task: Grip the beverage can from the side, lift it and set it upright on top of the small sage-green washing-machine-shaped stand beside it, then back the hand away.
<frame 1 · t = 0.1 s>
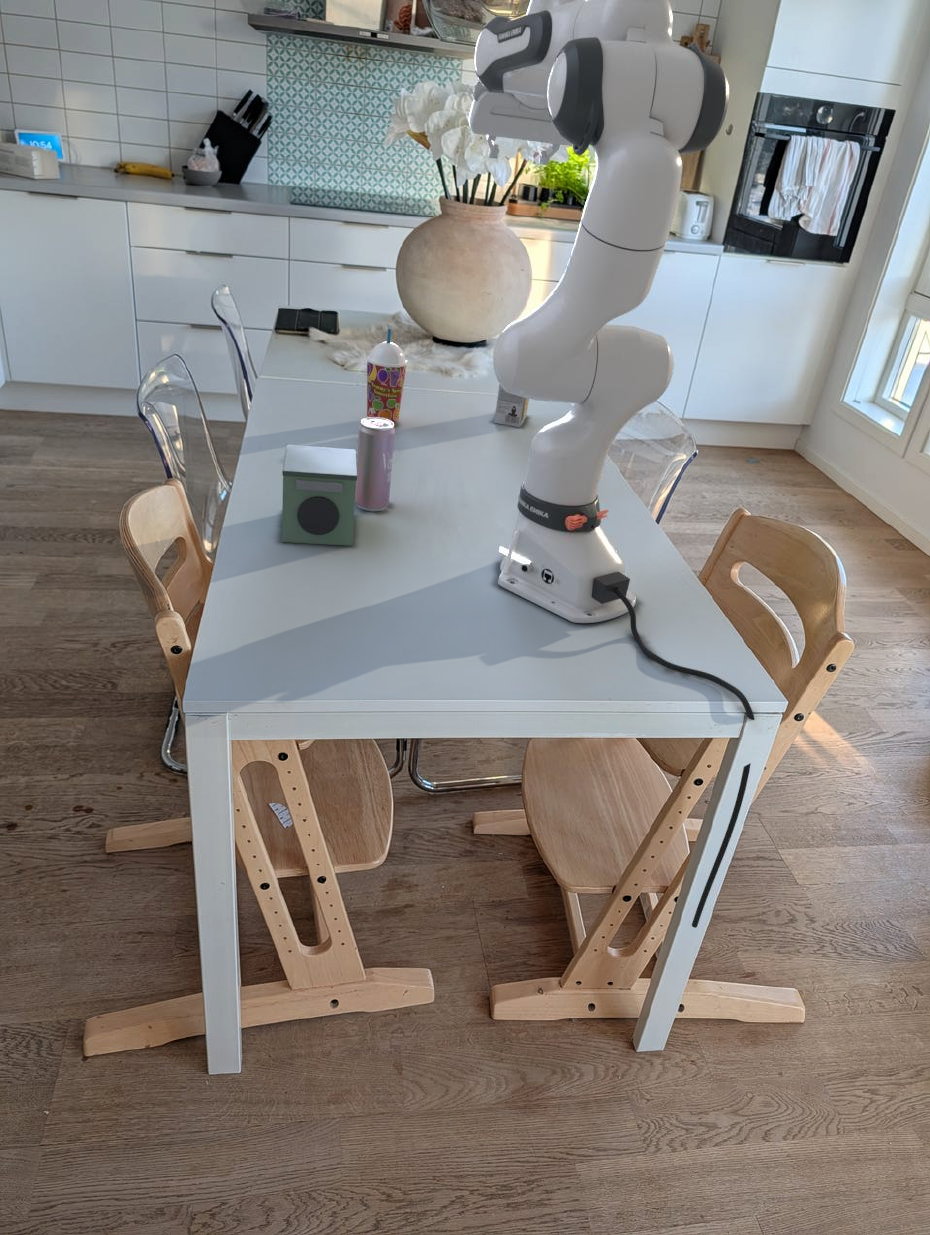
hand: (518, 159, 164), 54 cm above the table, tool tilted 30°, fingers open, 8 cm apart
coffee box: (510, 420, 209), on the table
smoothie: (382, 423, 197), on the table
beverage can: (371, 506, 159), on the table
washer stand: (317, 529, 149), on the table
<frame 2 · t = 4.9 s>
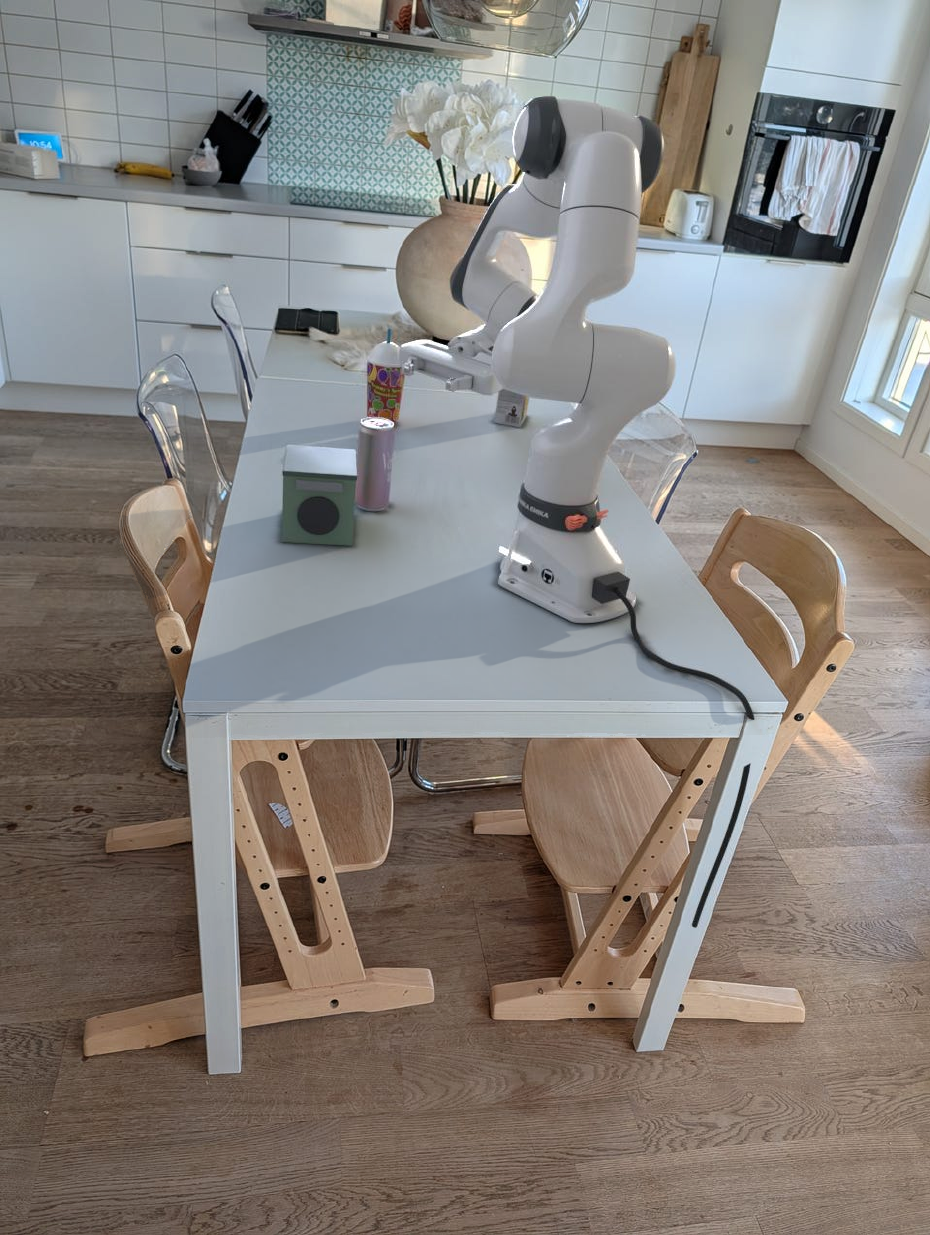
hand: (426, 378, 159), 20 cm above the table, tool horizontal, fingers open, 8 cm apart
nothing on the table moved.
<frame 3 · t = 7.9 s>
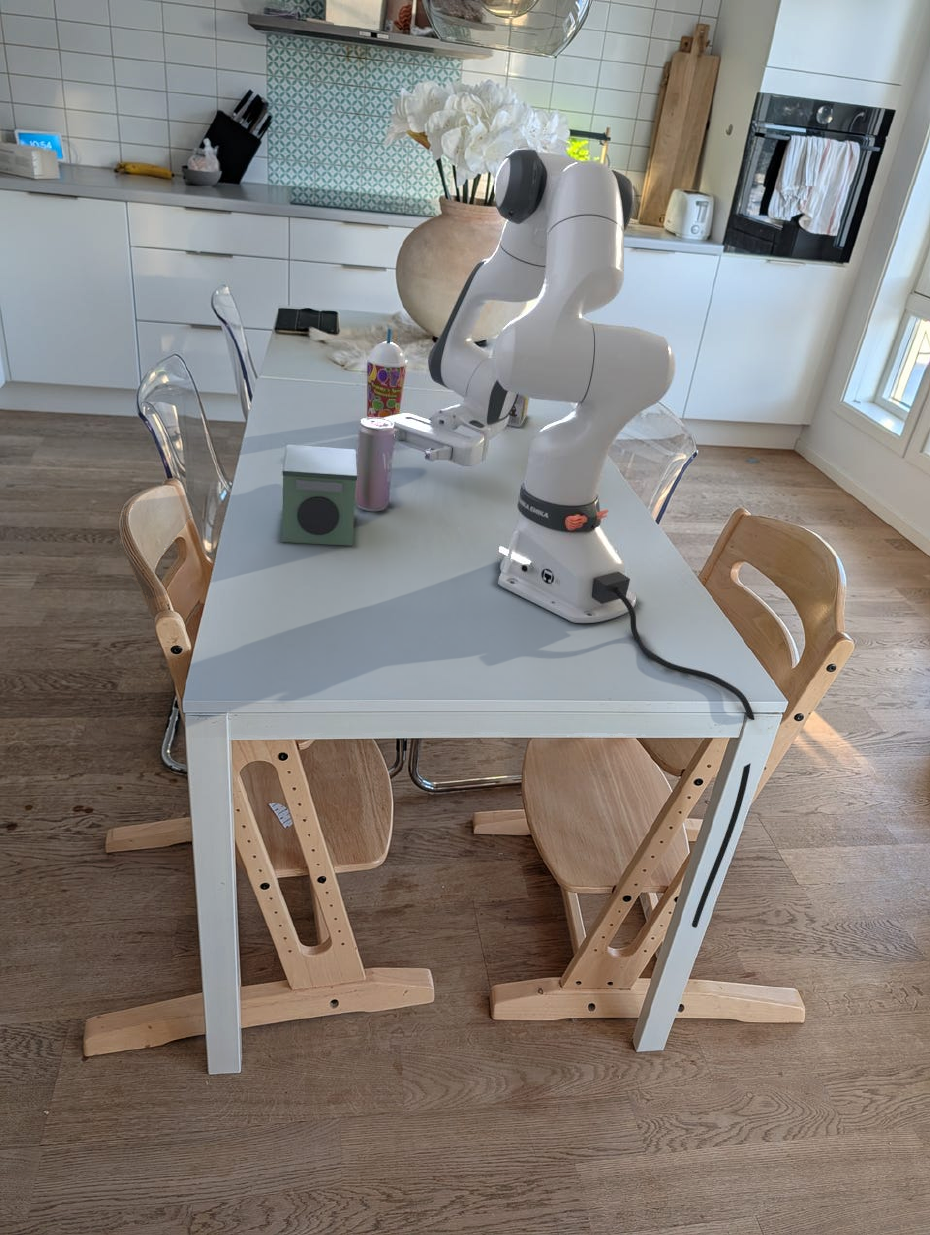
hand: (406, 448, 162), 8 cm above the table, tool horizontal, fingers open, 8 cm apart
nothing on the table moved.
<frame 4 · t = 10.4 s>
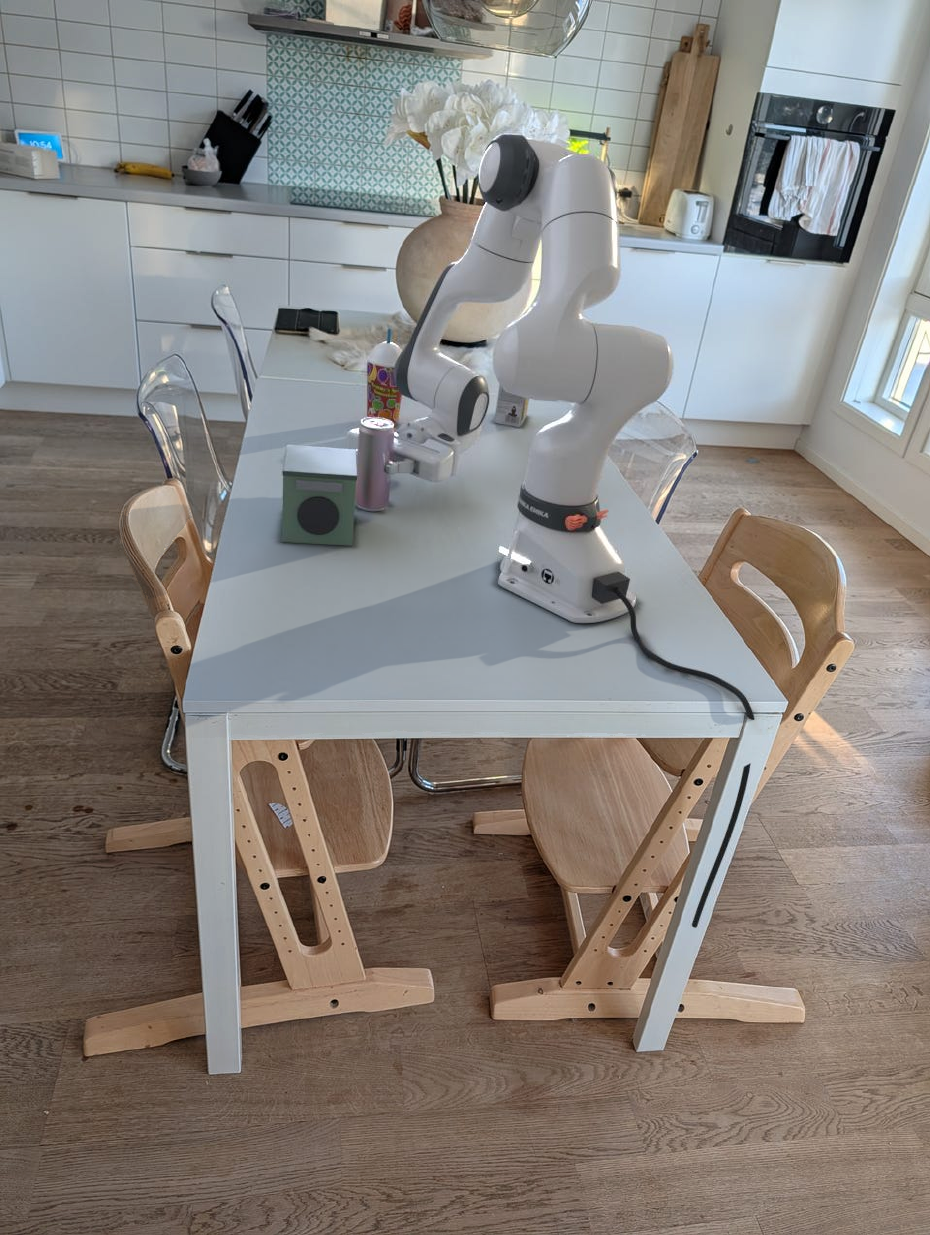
hand: (371, 463, 155), 8 cm above the table, tool horizontal, fingers closed on beverage can, 6 cm apart
beverage can: (371, 506, 159), on the table, touching gripper
everything else where it was.
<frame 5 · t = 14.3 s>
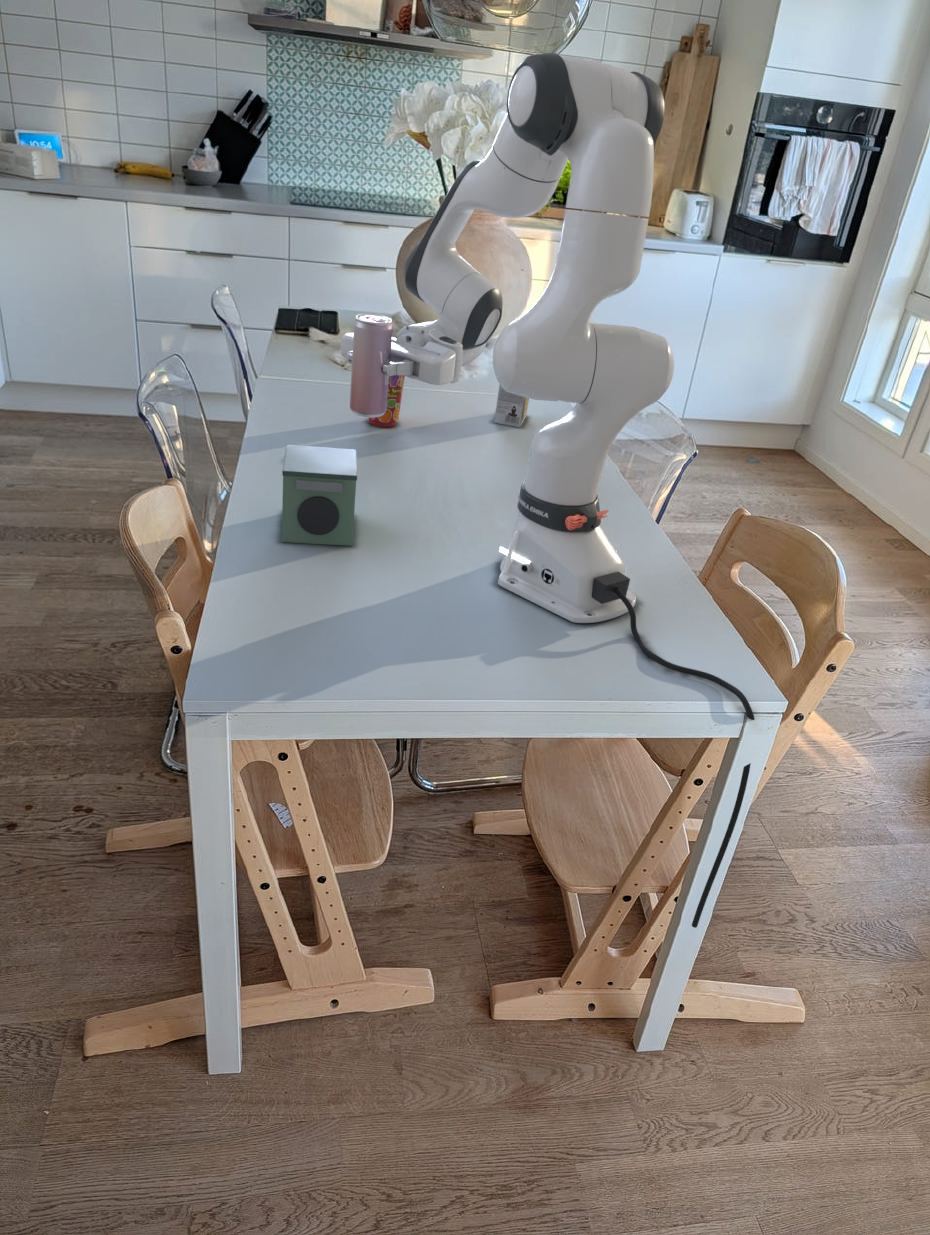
hand: (367, 364, 144), 25 cm above the table, tool horizontal, fingers closed on beverage can, 6 cm apart
beverage can: (367, 413, 148), point 17 cm above the table, touching gripper
everything else where it was.
when the fingers open (20 cm above the table, at t = 18.4 s): beverage can stays where it is, resting on washer stand.
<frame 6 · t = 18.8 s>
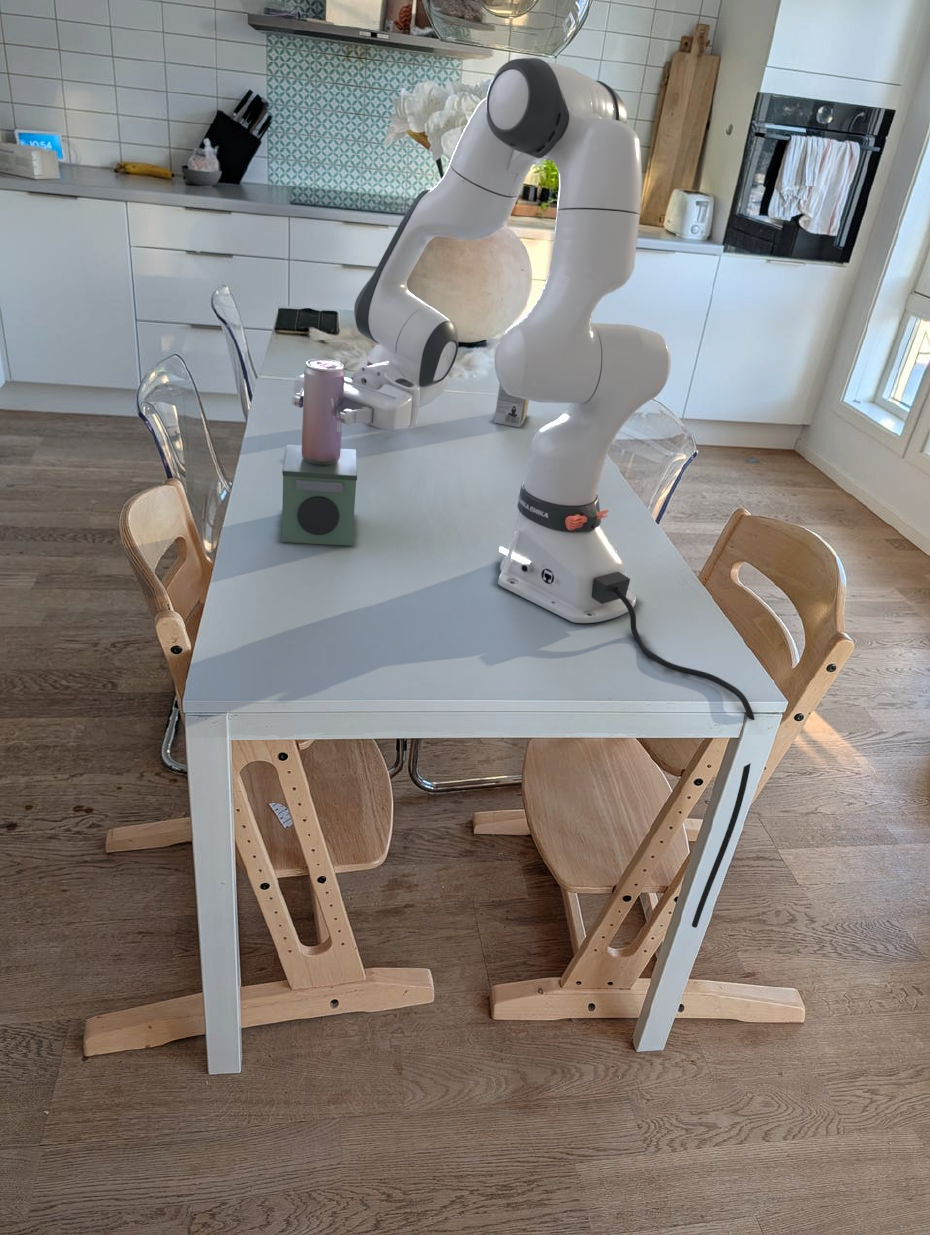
hand: (319, 409, 138), 20 cm above the table, tool horizontal, fingers open, 8 cm apart
beverage can: (320, 460, 143), point 12 cm above the table, touching washer stand
everything else where it was.
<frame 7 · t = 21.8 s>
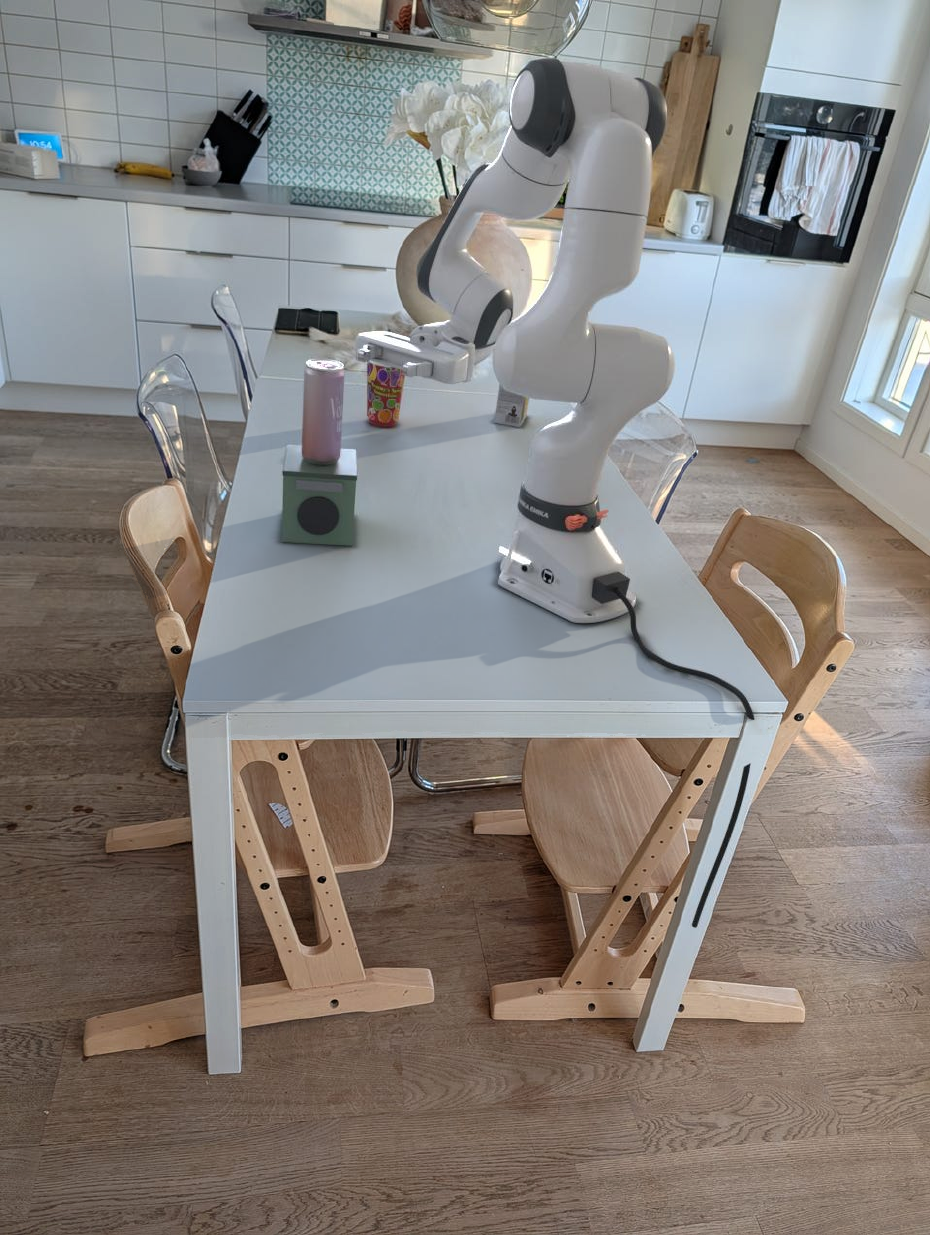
hand: (382, 363, 146), 25 cm above the table, tool horizontal, fingers open, 8 cm apart
nothing on the table moved.
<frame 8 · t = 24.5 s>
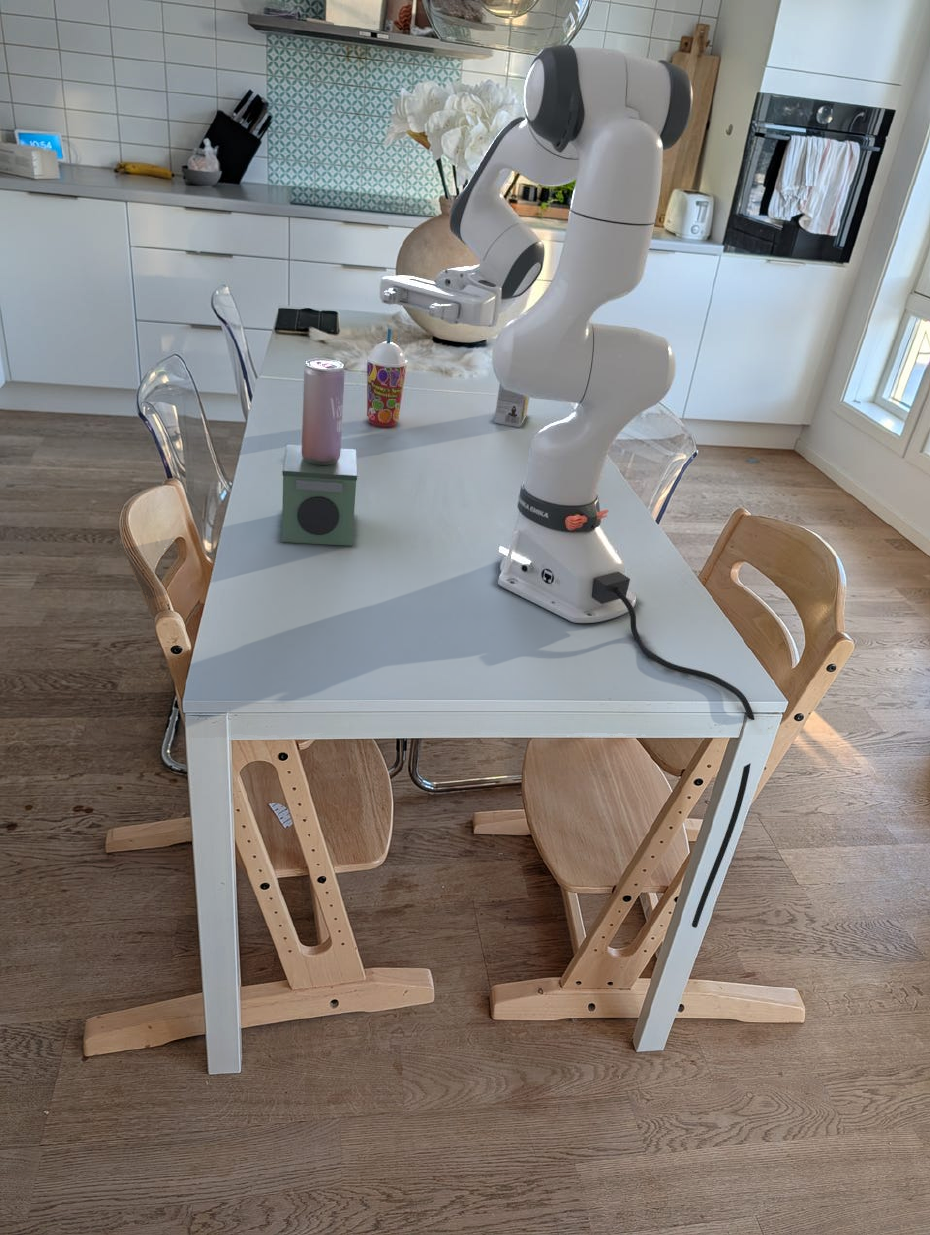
hand: (408, 304, 144), 34 cm above the table, tool horizontal, fingers open, 8 cm apart
nothing on the table moved.
at the end: beverage can inside the target area on the washer stand (0.2 cm from its centre), point 11.8 cm above the washer stand's base; beverage can tilted 0°; the gripper is holding nothing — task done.
